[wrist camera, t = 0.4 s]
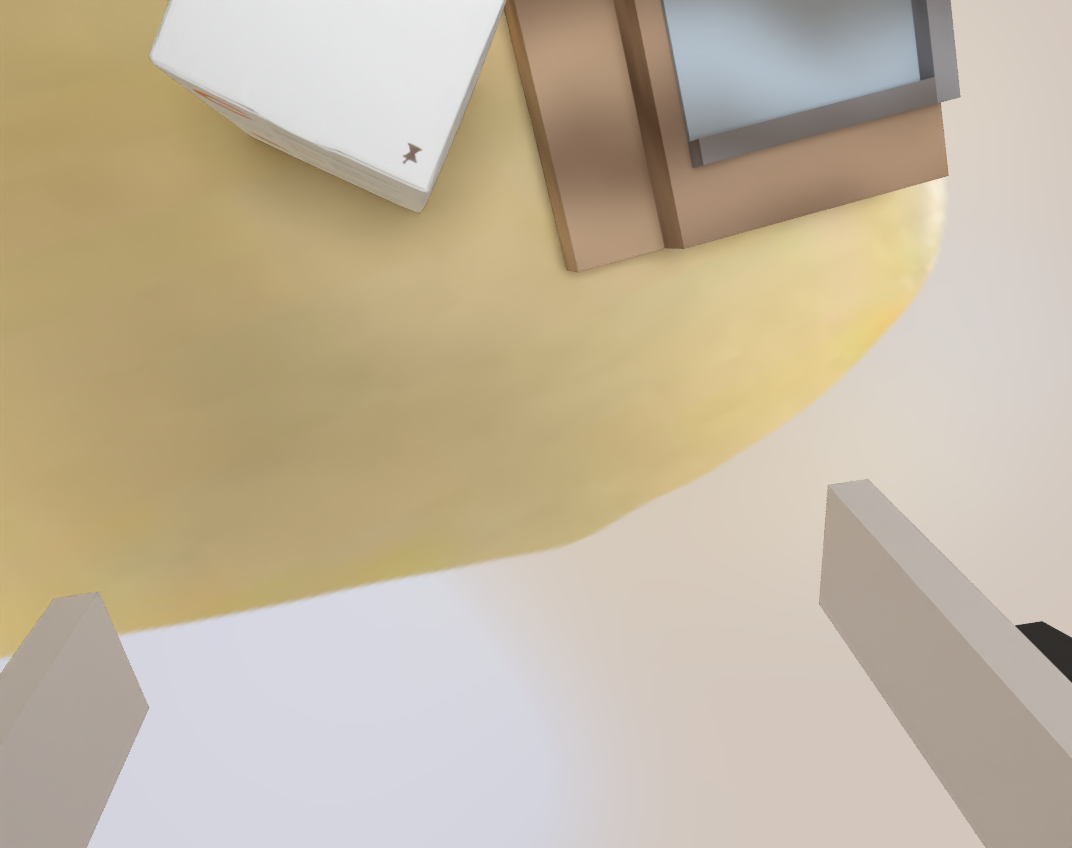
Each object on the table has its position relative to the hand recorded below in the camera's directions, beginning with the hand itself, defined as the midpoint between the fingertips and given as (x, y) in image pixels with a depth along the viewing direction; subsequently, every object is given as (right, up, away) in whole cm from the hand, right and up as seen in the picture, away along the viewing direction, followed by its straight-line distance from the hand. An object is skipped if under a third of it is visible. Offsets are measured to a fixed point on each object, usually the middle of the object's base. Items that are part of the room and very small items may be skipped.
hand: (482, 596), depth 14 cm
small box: (-7, +17, +19) cm, 26 cm away
